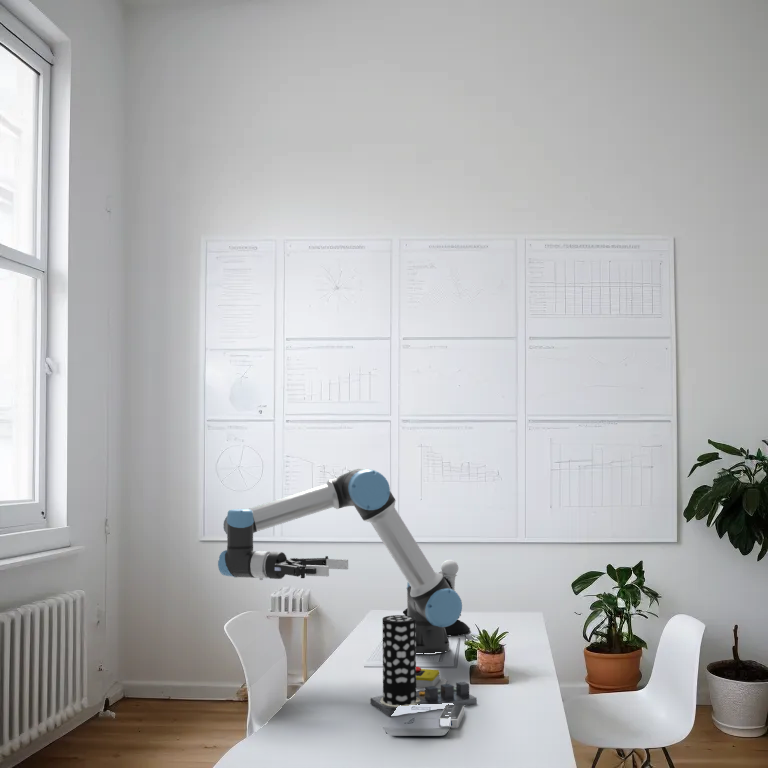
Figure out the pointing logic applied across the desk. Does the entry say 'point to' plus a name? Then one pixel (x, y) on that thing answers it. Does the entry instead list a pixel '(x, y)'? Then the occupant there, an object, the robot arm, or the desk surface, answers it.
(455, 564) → the sculpture
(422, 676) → the emergency button
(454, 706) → the multiport hub
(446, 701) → the breaker board
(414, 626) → the spotted tube
